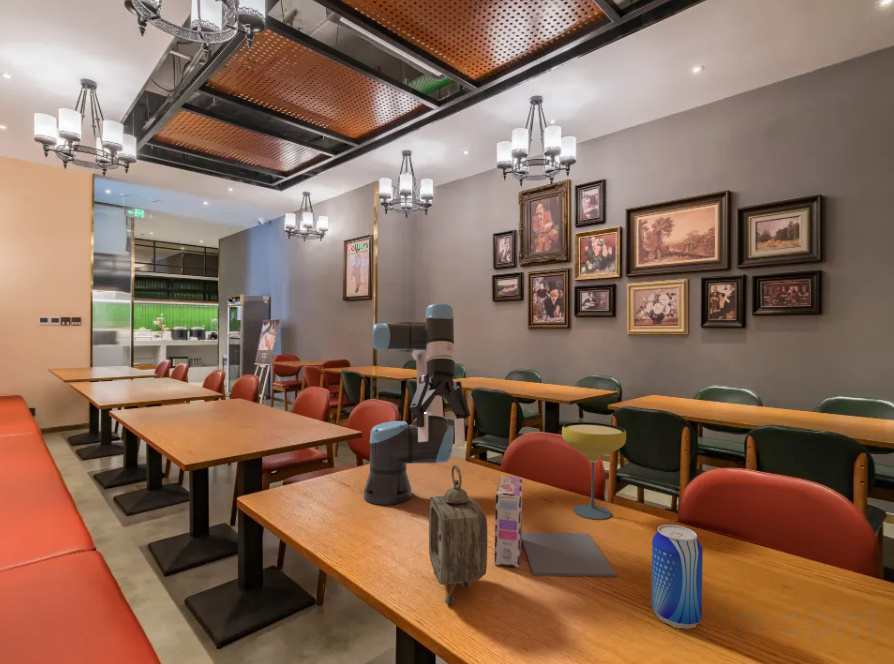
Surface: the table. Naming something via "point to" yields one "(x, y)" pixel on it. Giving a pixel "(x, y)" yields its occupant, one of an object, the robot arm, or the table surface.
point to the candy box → (508, 522)
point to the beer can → (677, 576)
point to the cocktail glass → (593, 453)
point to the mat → (565, 555)
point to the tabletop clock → (457, 537)
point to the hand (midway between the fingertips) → (442, 443)
